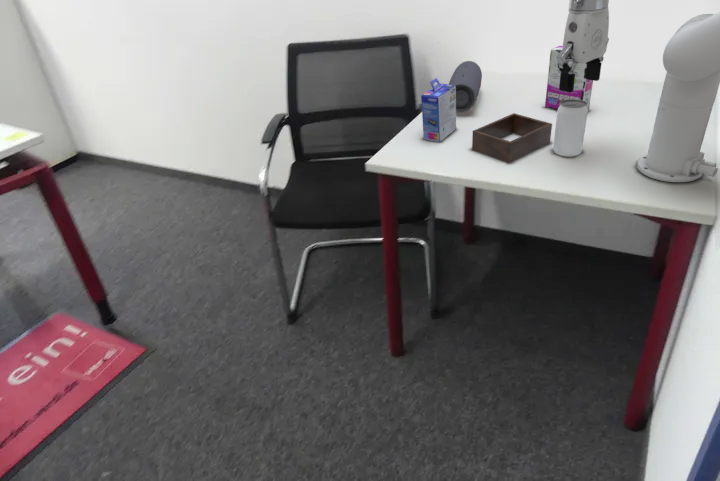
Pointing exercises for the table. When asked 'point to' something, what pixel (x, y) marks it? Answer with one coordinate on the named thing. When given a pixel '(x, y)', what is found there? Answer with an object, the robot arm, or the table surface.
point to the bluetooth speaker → (466, 85)
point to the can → (570, 127)
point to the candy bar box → (553, 93)
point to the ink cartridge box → (439, 111)
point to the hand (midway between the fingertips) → (579, 85)
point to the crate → (508, 151)
